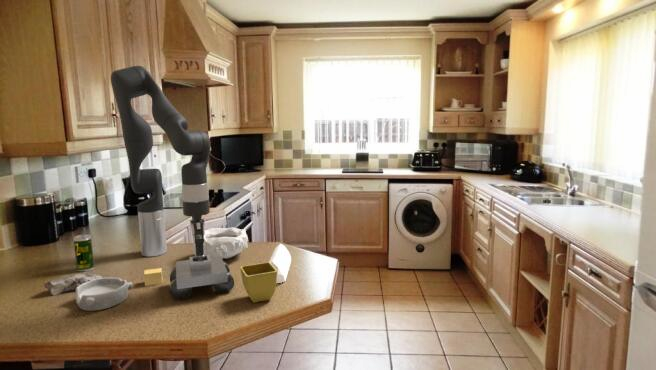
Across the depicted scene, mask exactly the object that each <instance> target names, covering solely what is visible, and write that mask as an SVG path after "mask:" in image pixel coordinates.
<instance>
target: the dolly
mask: <svg viewBox="0 0 656 370" xmlns="http://www.w3.org/2000/svg"><path fill="white" fill-rule="evenodd" d="M169 282H170V284H169V294H170V296H171V298H173V299H174V300H176V301H184V300H186V299H188V298H189V297H190V296H191V294H192V292H193V288H195V287H196V288H197V287H202V286H210V285H212V286H213V289H214V290H215V292H217V293H218V294H222V293H224V294H228V293H229V292H231V291H232V290H233V288H234V287H235V279H234V277H233V275H232V273H231V270H230V267H229V265H228V263H227V262H226V261H224V259H222V257H221V256H216V257H210V256H209V255H205V260H203V261H195V256H189V259H186V260H178V261H175V267H174V268H173V269H171V270H170V273H169Z"/></svg>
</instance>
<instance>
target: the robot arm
mask: <svg viewBox="0 0 656 370" xmlns="http://www.w3.org/2000/svg"><path fill="white" fill-rule="evenodd" d="M110 84H111V89H112V91H113V94H114V95H113V96H114V98H115V102H116V105H117V110H118V113H119V117H120V124H121V130H122V131H121V133H122V137H123V143H124V147H125V151H126V156H127V161H128V168H129V177H130V186H131V189H132V191H133V192H134V193H135V194H152V193H153V195H152V196H151V197H149V198H148V199H145V200H143V201H141V202H139V203H138V204H137V217H138V226H139V227H138V229H139V239H140V250H141V252H140V253H141V256H142V257H143V256H144V257H156V256H157V257H158V256H162V255H165V254H166V253H167V252H168V249H167V235H166V233H167V232H166V221H165V220H166V219H165V209H164V199H163V176H162V172H161V170H160V169H159V168H143V169H140V168H141V165H142V163H143V162H144V160H145V159H146V157H147V156H148V155H149V154H150V153H151V150H152V149H153V147H154V137H153V130H152V127H151V125H150V124H149V122H147V120H146V119H144V118H143V117H142V116H141V115H140V114H138V112H137V111H135V109H134V108H133V106H132V102H131V101H132V100H133V99H135V98H139V97H143V96H146V95H148V96H149V97H150V98H151V114H152V117H153V120H154V122H155V123H156V124H157V125H158V126H159V127H160V129H161V130H162V131H163V132H164V133H165V134H166V135H167V138H168V141H169V142H170V144H171V146H172V149H173V150H174V151H175V152H176V153H177V154H179V155H180V156H191V159H190V161H189V162H186V163H185V164H182V166H181V168H180V169H181V174H180V175H181V185H182V186H181V200H182V201H181V202H182V213H183V215H184V216H186V217H191V219H190V220H189V224H190V228H191V236H192V238H193V237H194V238H195V240H194V243H195V247H196V256H203V255H204V246H203V243H204V235H205V231H204V230H205V226H206V225H205V224H206V222H205V220H204V218H202V217H203V216H207V215H209V213H210V211H211V210H210V209H211V208H210V196H209V186H208V176H207V175H208V174H207V167H208V164H209V163H208V162H209V159H210V154H211V145H212V143H211V139H210V137H209V135H208V134H207V133H206V131H204V130H197V129H196V130H189V123H188V120H187V119H186V118H185V117H184V116H183V115H182V114H181V113H180V112H179V110H178V109H176V108H175V106H173V104H172V103H171V102H170V101H169V100H168V98H167V97H166V95H165V94H164V92H163V90H162V89H161V87H160V86H159V84H158V83H157V81H156V80H155V79H154V78H153V76H152V75H151V74H150V72H149V71H148V70H147V69H146V68H145V67H143V66H142V65H133V66H129V67H124V68H121V69H117V70H114V71H113V72H111V73H110ZM197 236H201V239H197Z"/></svg>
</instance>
